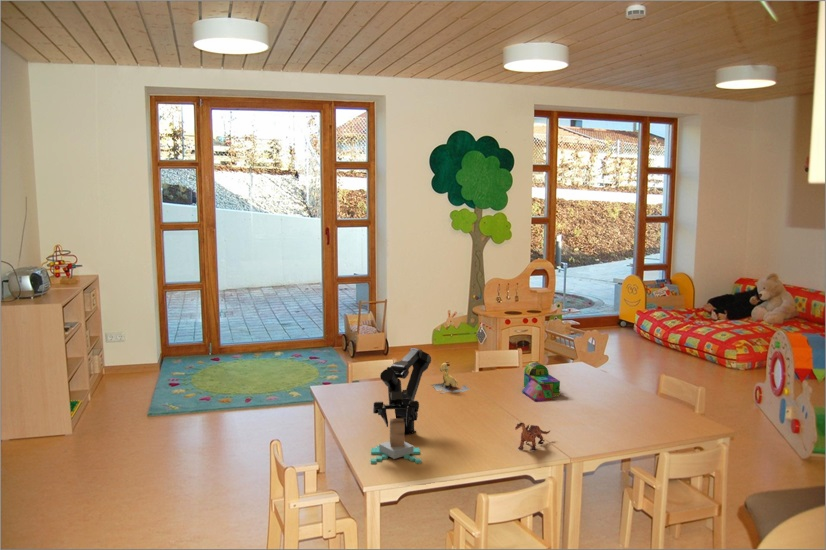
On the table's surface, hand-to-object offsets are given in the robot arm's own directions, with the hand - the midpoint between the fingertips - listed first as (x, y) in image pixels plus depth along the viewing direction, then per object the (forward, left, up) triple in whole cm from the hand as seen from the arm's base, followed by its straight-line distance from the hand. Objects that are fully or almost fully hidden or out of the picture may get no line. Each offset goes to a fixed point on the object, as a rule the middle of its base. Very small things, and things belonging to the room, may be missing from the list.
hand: (397, 426), depth 268 cm
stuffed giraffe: (-79, -53, -13) cm, 96 cm away
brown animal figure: (-49, +29, -12) cm, 58 cm away
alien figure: (0, -1, -13) cm, 14 cm away
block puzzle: (-111, -18, -12) cm, 113 cm away
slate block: (0, -1, -11) cm, 11 cm away
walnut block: (-1, -1, -8) cm, 8 cm away
